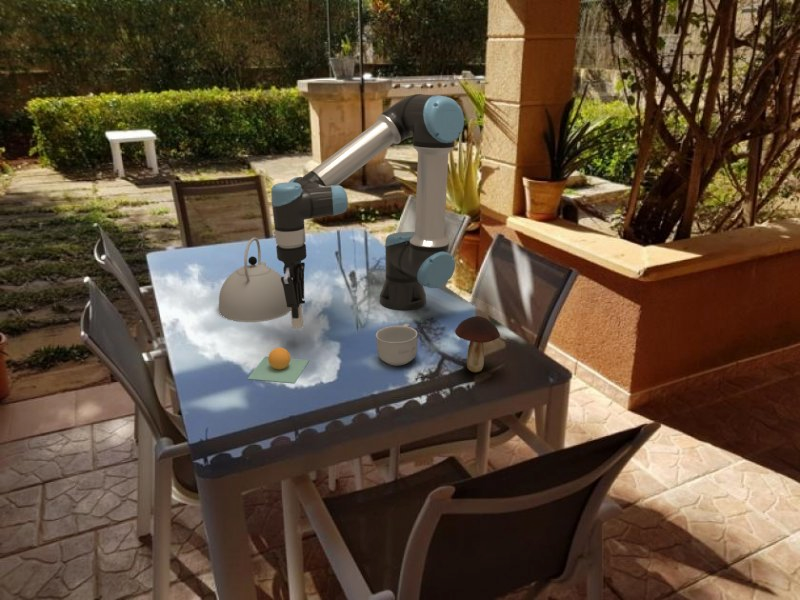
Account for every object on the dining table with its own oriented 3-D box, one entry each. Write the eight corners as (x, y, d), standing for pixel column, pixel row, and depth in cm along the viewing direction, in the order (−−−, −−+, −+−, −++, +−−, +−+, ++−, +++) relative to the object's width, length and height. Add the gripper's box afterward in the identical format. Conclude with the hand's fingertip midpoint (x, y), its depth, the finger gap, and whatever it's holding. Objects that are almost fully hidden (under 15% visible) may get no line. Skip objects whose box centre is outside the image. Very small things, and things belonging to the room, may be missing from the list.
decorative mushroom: (474, 357, 158) (478, 305, 152) (505, 373, 150) (510, 319, 144) (444, 369, 151) (446, 315, 146) (474, 386, 143) (478, 330, 138)
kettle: (232, 292, 200) (226, 227, 192) (299, 293, 200) (295, 228, 192) (210, 322, 177) (201, 249, 169) (285, 323, 177) (281, 251, 169)
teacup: (403, 374, 149) (403, 345, 146) (367, 362, 154) (367, 335, 151) (430, 353, 160) (431, 326, 157) (396, 343, 165) (396, 317, 162)
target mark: (309, 360, 154) (309, 360, 154) (294, 383, 143) (294, 382, 143) (265, 357, 156) (265, 356, 156) (247, 379, 145) (247, 378, 145)
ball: (291, 371, 151) (294, 350, 152) (285, 368, 146) (288, 346, 147) (270, 370, 152) (273, 348, 153) (264, 367, 147) (266, 345, 148)
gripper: (285, 236, 158) (292, 316, 167) (267, 251, 147) (276, 336, 156) (312, 237, 157) (318, 318, 166) (297, 252, 145) (304, 338, 154)
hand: (298, 327), depth 161 cm, fingers closed
